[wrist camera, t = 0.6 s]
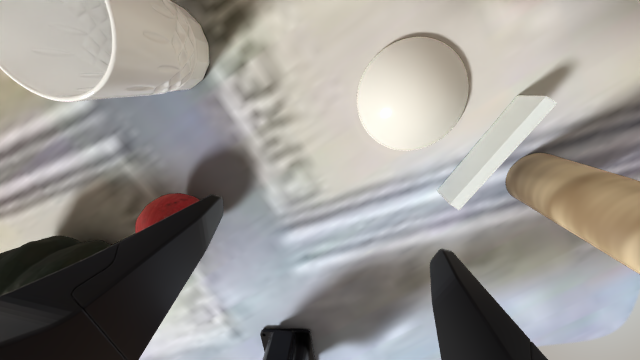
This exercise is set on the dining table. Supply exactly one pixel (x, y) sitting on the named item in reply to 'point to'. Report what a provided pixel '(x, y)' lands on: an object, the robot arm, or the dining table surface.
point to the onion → (163, 209)
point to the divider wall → (494, 147)
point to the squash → (42, 259)
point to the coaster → (412, 93)
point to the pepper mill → (582, 202)
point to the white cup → (101, 48)
